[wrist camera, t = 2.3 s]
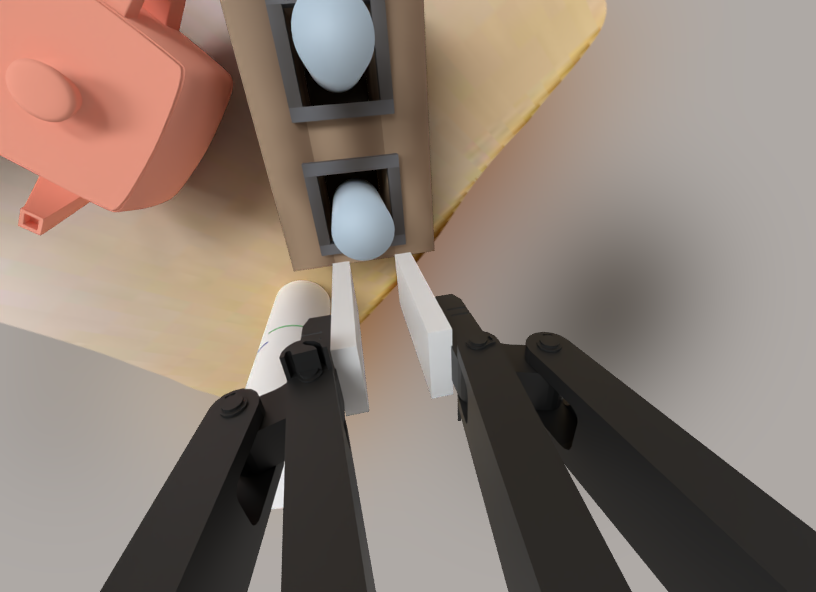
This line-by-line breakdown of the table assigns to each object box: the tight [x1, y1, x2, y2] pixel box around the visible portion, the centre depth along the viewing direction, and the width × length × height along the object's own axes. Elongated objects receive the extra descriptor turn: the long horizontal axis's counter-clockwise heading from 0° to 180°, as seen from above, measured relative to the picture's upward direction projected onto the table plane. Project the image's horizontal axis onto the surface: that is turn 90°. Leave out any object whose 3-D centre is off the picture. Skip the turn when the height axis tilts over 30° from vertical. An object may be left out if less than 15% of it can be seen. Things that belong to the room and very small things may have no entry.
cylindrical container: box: [245, 280, 331, 509], centre depth 34 cm, size 7×7×25 cm
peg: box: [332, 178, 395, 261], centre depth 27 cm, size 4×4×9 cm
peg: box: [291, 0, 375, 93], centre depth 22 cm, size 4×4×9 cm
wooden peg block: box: [220, 0, 434, 271], centre depth 31 cm, size 14×22×11 cm, turn 5°
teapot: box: [0, 0, 233, 235], centre depth 26 cm, size 22×13×14 cm, turn 141°
